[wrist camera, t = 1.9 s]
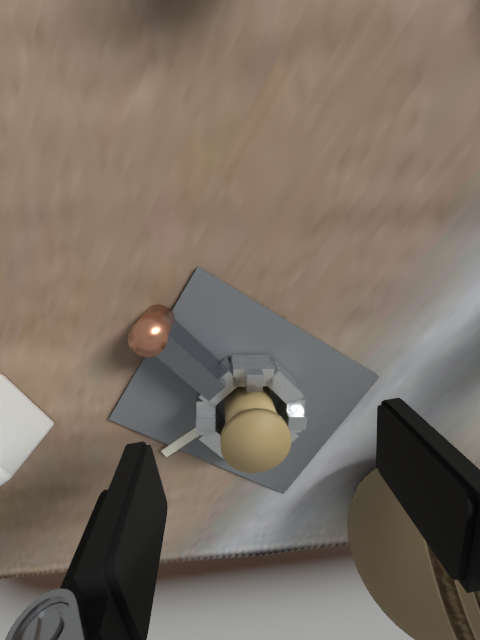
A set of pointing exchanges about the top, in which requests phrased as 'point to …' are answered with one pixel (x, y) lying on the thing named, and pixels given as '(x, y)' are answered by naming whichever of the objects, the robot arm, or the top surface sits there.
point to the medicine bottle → (18, 428)
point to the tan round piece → (406, 569)
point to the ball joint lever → (214, 373)
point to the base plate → (244, 337)
